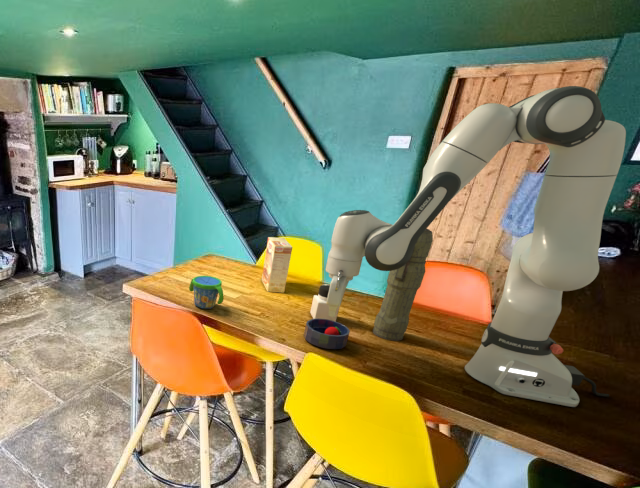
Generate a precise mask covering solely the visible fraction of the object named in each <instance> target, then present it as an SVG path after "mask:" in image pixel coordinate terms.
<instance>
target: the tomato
mask: <svg viewBox="0 0 640 488" xmlns="http://www.w3.org/2000/svg"><path fill="white" fill-rule="evenodd" d="M325 334H328V335H336V336H338V335H340V334H341V331H340V330H339V328H338V327H329V328H327V329H326V330H325Z"/></svg>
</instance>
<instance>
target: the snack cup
mask: <svg viewBox="0 0 640 488" xmlns="http://www.w3.org/2000/svg"><path fill="white" fill-rule="evenodd" d="M222 284H223V281H222V280H221V279H220V278H218V277H215V276H212V275H198V276H195V277H193V278H191V280H190V283H189V288H188V289H189V292H193V303H194V306H196V307H197V308H200V309H202V310H203V309H204V310H205V309H206V310H210V309H213V308H214V307H215V305H216V302H217V305H221V304H222V303H223V302H224V290H223V288H222Z"/></svg>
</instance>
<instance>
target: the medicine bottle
mask: <svg viewBox="0 0 640 488" xmlns="http://www.w3.org/2000/svg"><path fill="white" fill-rule="evenodd" d="M329 288H330V284H328V283H327V284H322V285H320V286H319V288H318V293H317V294H318V295H317V294H314V295H313V298H312V303H311V306H310V311H309V313H310V316H311V317H312V319H327V320H332V321H335V322H337V319H338V315H339V311H340V307H337V310H336V314H335V316H334V317H332V316H329V315H328V314H329V305H327V297H328V292H329Z"/></svg>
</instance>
